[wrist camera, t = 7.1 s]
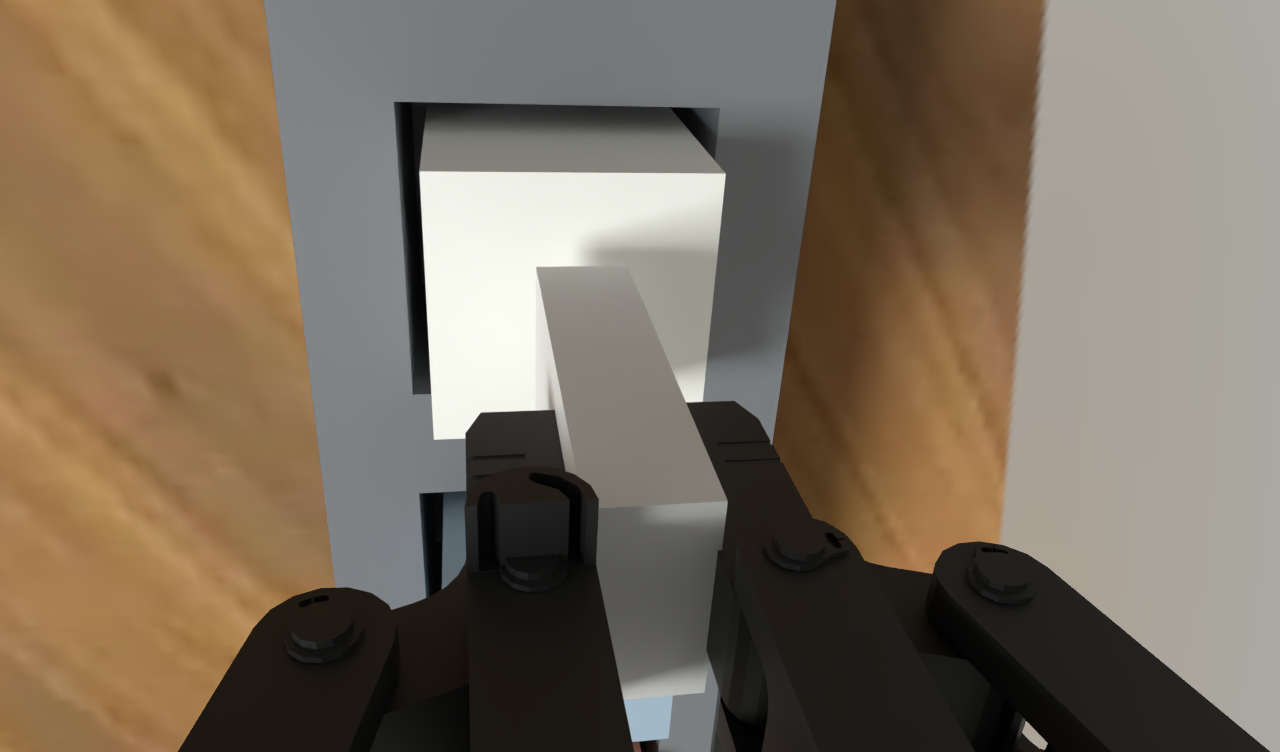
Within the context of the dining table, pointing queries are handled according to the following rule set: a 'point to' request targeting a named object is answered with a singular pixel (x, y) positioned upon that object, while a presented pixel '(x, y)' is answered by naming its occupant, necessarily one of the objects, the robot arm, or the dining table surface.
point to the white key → (557, 237)
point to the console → (393, 237)
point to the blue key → (642, 714)
